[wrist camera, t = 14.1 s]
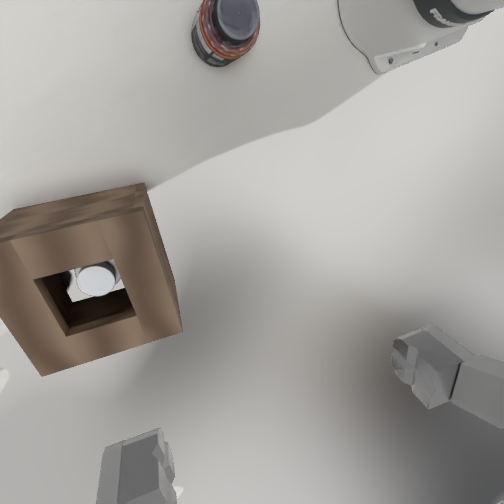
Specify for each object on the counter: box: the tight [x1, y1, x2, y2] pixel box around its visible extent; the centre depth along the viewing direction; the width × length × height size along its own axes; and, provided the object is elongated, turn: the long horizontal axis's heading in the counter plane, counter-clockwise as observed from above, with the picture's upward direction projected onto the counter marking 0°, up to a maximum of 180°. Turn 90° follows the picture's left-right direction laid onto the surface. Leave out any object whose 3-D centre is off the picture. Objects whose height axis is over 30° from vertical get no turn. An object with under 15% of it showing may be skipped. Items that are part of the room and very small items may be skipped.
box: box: [0, 183, 183, 376], centre depth 37 cm, size 16×16×13 cm
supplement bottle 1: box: [75, 259, 121, 296], centre depth 38 cm, size 5×5×10 cm
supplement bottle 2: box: [191, 0, 260, 67], centre depth 31 cm, size 6×6×11 cm
